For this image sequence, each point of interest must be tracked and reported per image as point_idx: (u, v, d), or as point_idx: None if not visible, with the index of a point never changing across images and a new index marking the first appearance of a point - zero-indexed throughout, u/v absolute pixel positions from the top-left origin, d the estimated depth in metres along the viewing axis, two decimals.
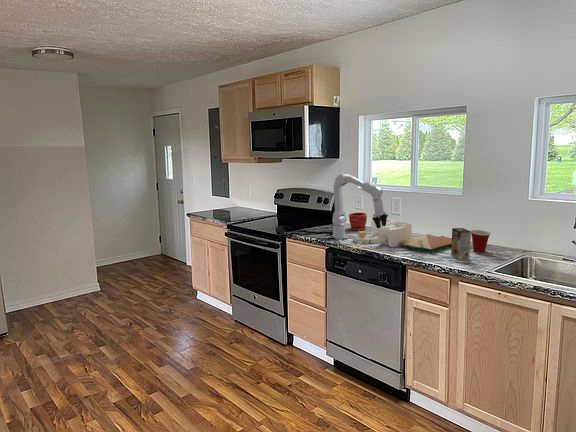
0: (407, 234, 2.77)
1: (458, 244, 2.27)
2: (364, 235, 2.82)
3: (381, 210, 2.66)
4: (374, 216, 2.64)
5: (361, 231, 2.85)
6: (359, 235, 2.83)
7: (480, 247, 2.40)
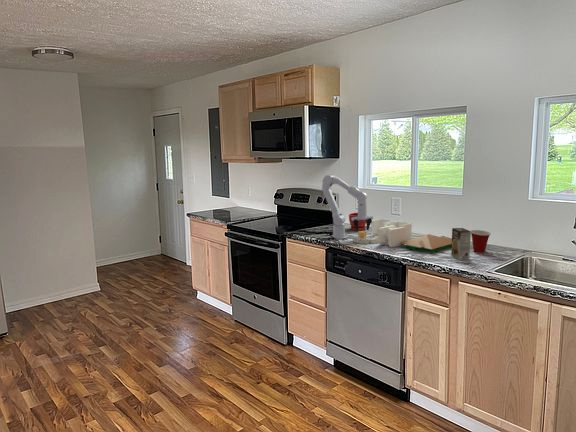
0: (407, 234, 2.77)
1: (458, 244, 2.27)
2: (364, 235, 2.82)
3: (361, 215, 2.79)
4: (352, 219, 2.81)
5: (361, 231, 2.85)
6: (359, 235, 2.83)
7: (480, 247, 2.40)
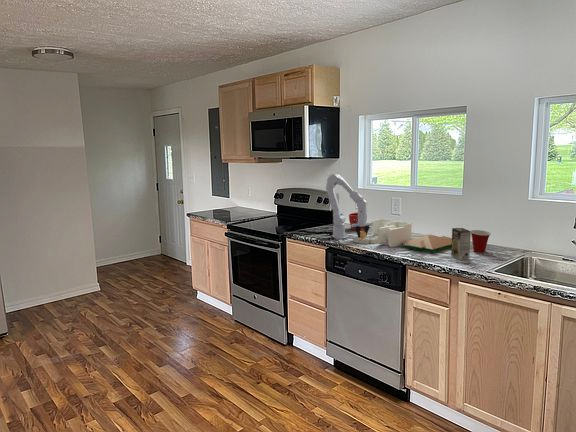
0: (407, 234, 2.77)
1: (458, 244, 2.27)
2: (364, 235, 2.82)
3: (361, 222, 2.80)
4: (351, 226, 2.81)
5: (361, 231, 2.85)
6: None
7: (480, 247, 2.40)
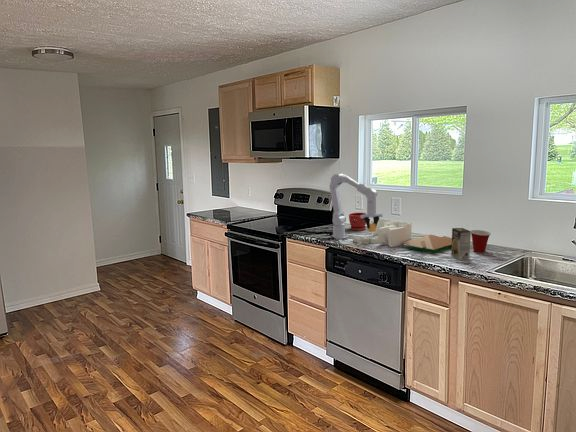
0: (407, 234, 2.77)
1: (458, 244, 2.27)
2: (374, 227, 2.75)
3: (370, 212, 2.72)
4: (361, 217, 2.74)
5: (370, 223, 2.78)
6: None
7: (480, 247, 2.40)
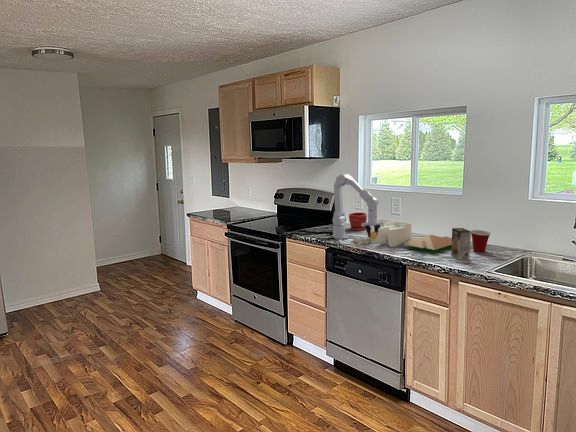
0: (407, 234, 2.77)
1: (458, 244, 2.27)
2: (374, 235, 2.75)
3: (371, 221, 2.73)
4: (362, 225, 2.74)
5: (371, 231, 2.78)
6: None
7: (480, 247, 2.40)
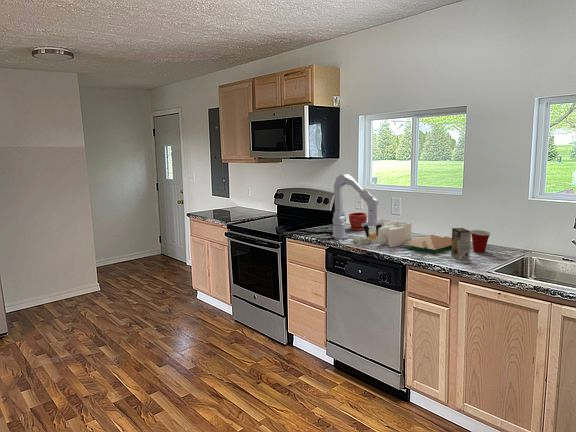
0: (407, 234, 2.77)
1: (458, 244, 2.27)
2: (374, 237, 2.75)
3: (371, 221, 2.73)
4: (362, 225, 2.74)
5: (371, 233, 2.78)
6: (369, 237, 2.76)
7: (480, 247, 2.40)
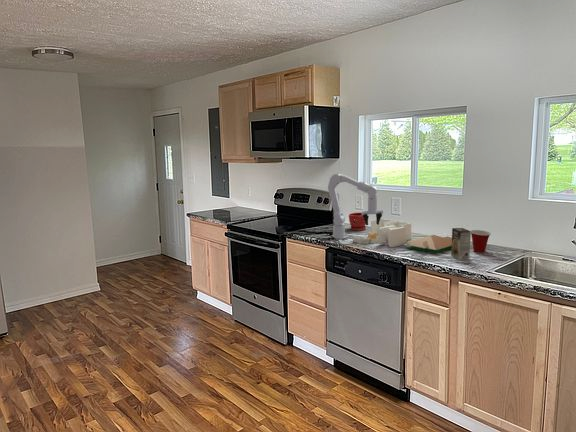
0: (407, 234, 2.77)
1: (458, 244, 2.27)
2: (374, 237, 2.75)
3: (371, 209, 2.77)
4: (362, 213, 2.78)
5: (371, 233, 2.78)
6: (369, 237, 2.76)
7: (480, 247, 2.40)
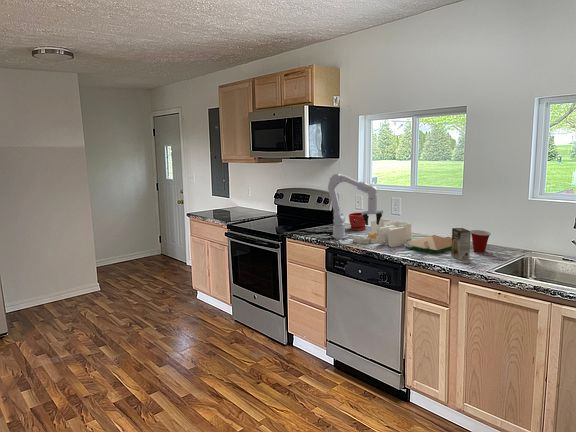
0: (407, 234, 2.77)
1: (458, 244, 2.27)
2: (374, 237, 2.75)
3: (371, 209, 2.77)
4: (362, 213, 2.78)
5: (371, 233, 2.78)
6: (369, 237, 2.76)
7: (480, 247, 2.40)
